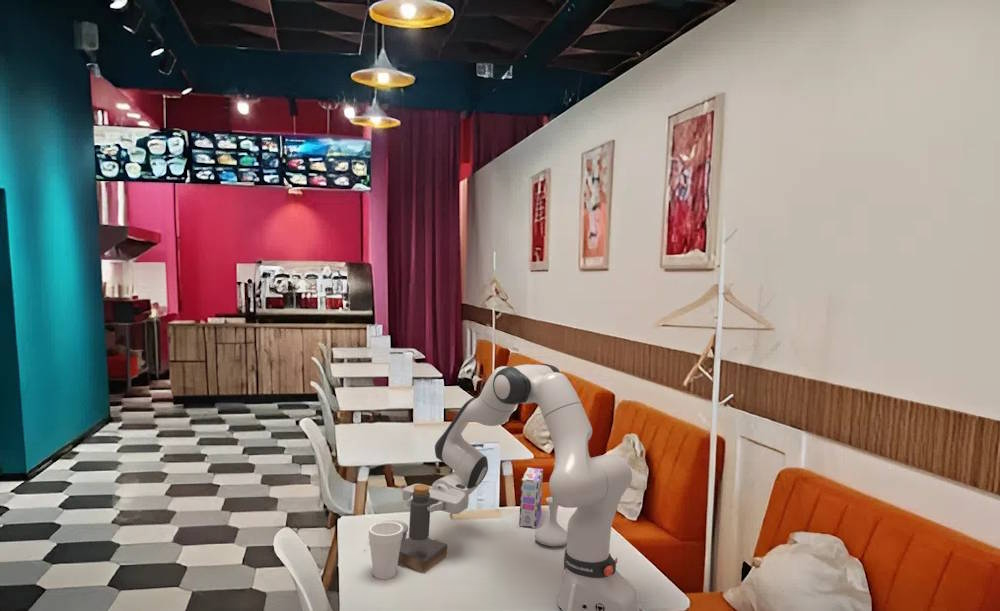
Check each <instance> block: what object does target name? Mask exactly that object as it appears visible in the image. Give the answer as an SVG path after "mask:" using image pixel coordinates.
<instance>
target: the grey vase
mask: <svg viewBox="0 0 1000 611" xmlns="http://www.w3.org/2000/svg"><path fill="white" fill-rule="evenodd" d="M554 467H555V462H553V468H554ZM545 501H546V502H547V505H548V509H549V517H548V521H547V522H546V523H545V524H544V525H542V526H540V527H539V528H538V529H536V531H535V533H534V535H533V536H534V539H535V540H536V541H537V542H538V543H539V544H542V545H545V546H548V547H559V546H564V545H567V532H568V531H567V530H566V529H565V528H563V527H562V525H560V524H559V523H558V521H557V514H558V509H559V507H560V505H558V504H557V503H556V502H555V501H554V499H553V498H552V496H548V497H546V499H545Z"/></svg>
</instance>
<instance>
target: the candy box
mask: <svg viewBox="0 0 1000 611" xmlns="http://www.w3.org/2000/svg"><path fill="white" fill-rule="evenodd" d="M526 468H527V469H526V471H525V472H524V474H523V476H522V478H521V482H520V484H521V485H520V502H519V522H518V524H519V525H518V526H519V527H523V528H529V529H536V528H537V525H538V523H539V519H540V517H541V514H542V497H543V473H544V472H543V471H544V469H543V468H536V467H526Z"/></svg>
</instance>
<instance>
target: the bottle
mask: <svg viewBox="0 0 1000 611" xmlns="http://www.w3.org/2000/svg"><path fill="white" fill-rule="evenodd" d="M417 484H418V485H415V486H414V487H413V488H414V492H413V493H412V496H413V497H414V499H413V500H412V501H411V506H409V507H410V510H409V525H408V538H409V537H410V538H411V539H413V540H425V539H427V538H429V537H430V525H431V524H430V523H431V522H430V521H431V520H430V519H431V512H428V511H427V506H428V505H430V504H431V502H430V500H429V499H428V498H429V497H430V493H429V488H430V487H429V486H430V485H427V484H423V483H417Z"/></svg>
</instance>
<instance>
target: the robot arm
mask: <svg viewBox="0 0 1000 611" xmlns="http://www.w3.org/2000/svg"><path fill="white" fill-rule="evenodd" d="M535 403H536V404H537V405H538V407H539V410H540V411H541V415H542V418H543V420H544V423H545V426H546V428H547V431H548V433H549V435H550V438H551V441H552V444H553V448H554V460H555V461H554V463H555V467H554V466H553V471H552V473H551V475H550V477H549V480H548V482H549V483H548V487H549V488H548V489H549V492H550V497H552V498H553V499H554V501H555V502H556V503H557V504H558V505H559V507H562V508H568V509H571V508H573V509H575V508H576V509H575V510H574V512H573V513H572V515H571V516H570V517H569V519H568V522H567V531H566V532H567V543H566V548H565V549H564V557H563V571H564V574H563V581H562V585H561V589H560V592H559V596H558V598H557V606H558V605H559V606H558V608H559V607H560V608H561V609H562V610H563V611H646V609H645V606H644V605H643V604H641V603H639V602H638V600H637V593H636V590H635V588H634V586H633V585H632V584H631V583H629V582H628V581H627V579H626V578H625V577H624V576H622V575H621V574H620V573H619V572H618V570H617V563H618V559H619V558H618V557H616V558H615V559H614V558H613V557H612V555H611V553H610V545H611V534H612V526H613V522H614V518H615V515H616V512H617V509H618V507H619V504H620V502H621V500H622V497H623V496H624V495H625V494H624V493H625V492H626V491H627V490H628V489H629V487H630V486H631V483H632V480H633V472H632V468H631V466H630V464H629V463H628V461H627V460H626V459H625V458H624V457H622V456H620V455H616V454H615V455H614V454H602V455H601V454H600V455H598V456H594V457H591V456H590V452H589V440H590V439H591V438H592V435H593V427H592V424H591V422H590V420H589V417H588V416H587V413H586V410H585V409H584V406H583V403H582V402H581V400H580V397H579V396H578V392H576V389H575V388H574V386H573V385H572V383H571V381H570V379H569V378H568V377H567V376H566V374H564V373H561V371H560V370H559V368H557V367H556V366H554V365H552V364H547V363H542V364H541V363H540V364H529V363H527V364H526V363H525V364H519V365H515V366H507V365H505V366H504V365H501V366H499V367H496V368H495V369H494V370H493V371H492V373H491V374H490V375H489V377H488V379H487V380H486V382H485V383H484V385H483V388H482V390H481V392H480V394H479V396H477V397H472V398H470V399H468V400H467V401H466V402H465V403H464V404H463V405H462V406H461V407H460V409H459V411H458V412H457V413H456V415H455V416H454V417H453V419H452V421H451V423H450V424H449V426H447V429H445V431H444V432H443V434H442V435H441V436H440V437H439V438H438V440H437V441H436V442H435V445H434V453H435V457H436V459H438V460H439V461H440V462H442V463H444V464H445V465H447V466H448V467H449V468H450V469H452V470H453V472H451V473H449V474H448V475H445V476H443V477H440V478H438V479H437V480H435V481H434V482H433V483H432V485H428V486H429V487H430V488H429V493H430V497H429V498H428V499H429V500H430V502H431V504H430V505H428V506H427V511H428V512H430V514H432V513H434V512H438V511H439V512H440V511H441V512H445V513H448V514H449V513H450V514H451V515H452V514H453V515H457V514H458V515H459V514H461V513H463V511H464V510H467V509H468V508H469V499H470V498H469V497H470V495H471V494H472V493H473V492H474V491H475V490H476V489H477V488H478V487H479V485H480V484H481V483H482V481H484V479H485V477H486V475H487V473H488V470H489V461H488V458H487V456H486V455H485V454H483V452H481V451H480V450H479V449H477V448H476V447H475V446H473V445H472V444H471V443H469V442H468V441H467V440H466V439H465V438H464V437H463V435H462V433H463V432H464V431H465V429H466V427H467V425H468V424H469V423H470V422H473V423H476V424H477V423H478V424H481V425H483V426H486V427H494V426H495V427H497V426H500V425H502V424H504V423H506V422H507V421H508V420H509V419H510V417H511V415H512V414H513V411H514V409H515V408H516V405H520V404H535ZM418 484H419V483H413V484H411V485H409V486H405V487H403V488H402V495H401V496H402V501H405V502H406V506H407V507H410V506H411V501H412V500H413V499H414V497H413V496H412V493H413V492H414V488H413V487H414V486H415V485H418ZM560 608H559V609H560ZM561 609H560V610H561ZM562 610H561V611H562Z"/></svg>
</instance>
